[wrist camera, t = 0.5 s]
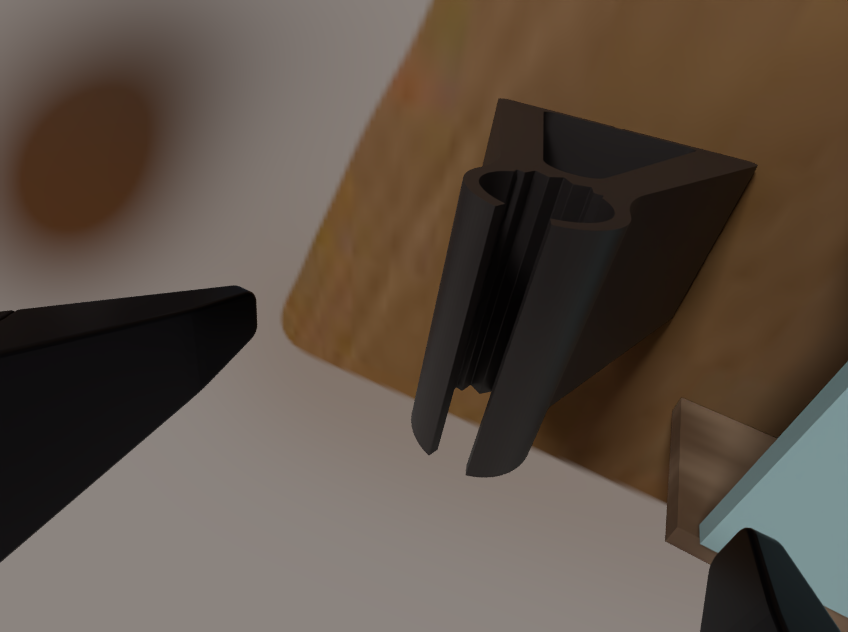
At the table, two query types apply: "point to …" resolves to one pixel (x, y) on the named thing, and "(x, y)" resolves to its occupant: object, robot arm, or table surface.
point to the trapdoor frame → (708, 473)
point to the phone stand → (562, 267)
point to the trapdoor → (799, 496)
